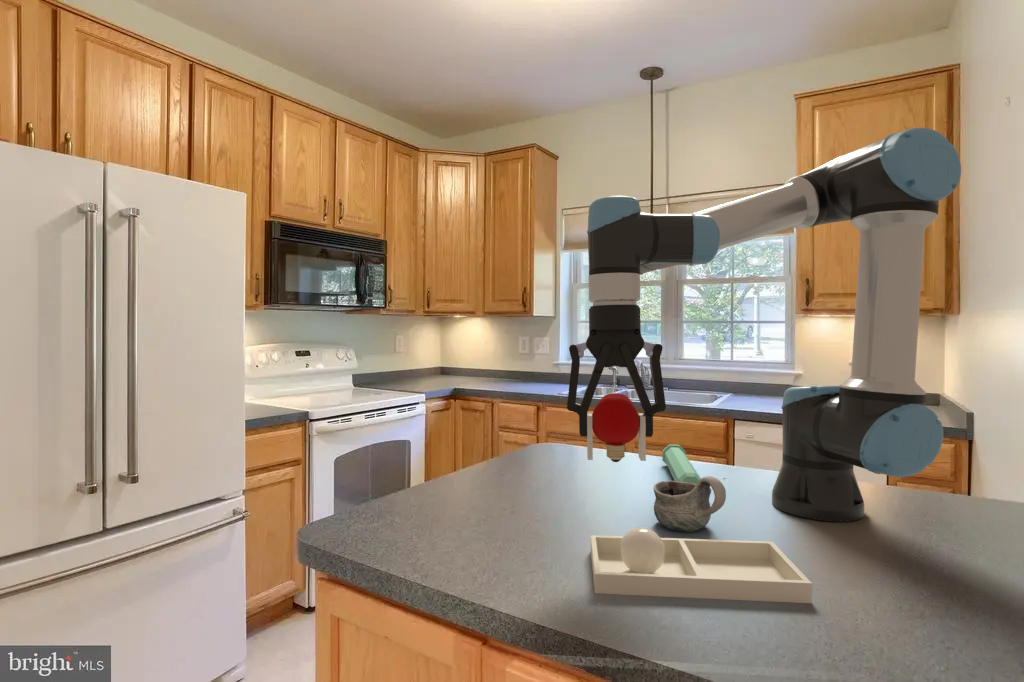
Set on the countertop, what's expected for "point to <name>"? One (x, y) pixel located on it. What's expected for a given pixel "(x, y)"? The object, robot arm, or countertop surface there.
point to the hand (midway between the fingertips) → (615, 457)
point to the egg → (642, 550)
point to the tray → (703, 571)
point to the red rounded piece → (615, 423)
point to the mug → (687, 503)
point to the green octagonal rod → (679, 464)
